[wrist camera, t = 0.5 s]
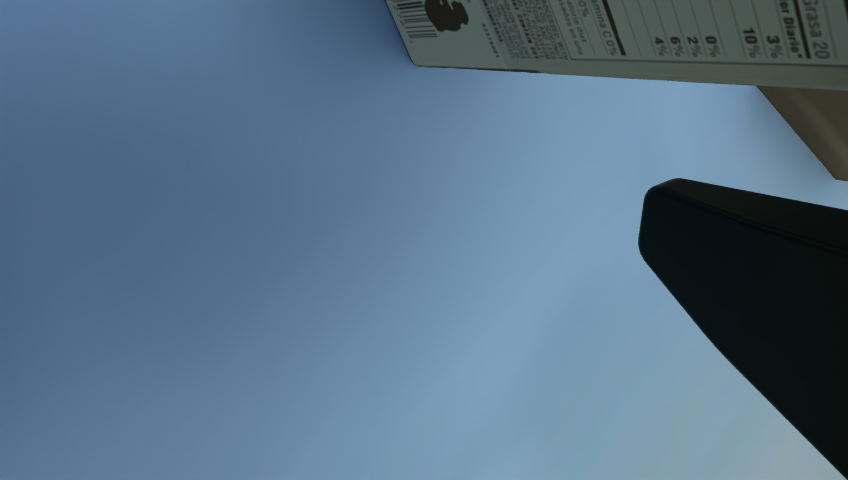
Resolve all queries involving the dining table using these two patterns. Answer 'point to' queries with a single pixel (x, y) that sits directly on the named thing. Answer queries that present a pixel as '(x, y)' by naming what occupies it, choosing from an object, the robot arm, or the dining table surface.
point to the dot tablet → (817, 122)
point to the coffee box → (636, 39)
